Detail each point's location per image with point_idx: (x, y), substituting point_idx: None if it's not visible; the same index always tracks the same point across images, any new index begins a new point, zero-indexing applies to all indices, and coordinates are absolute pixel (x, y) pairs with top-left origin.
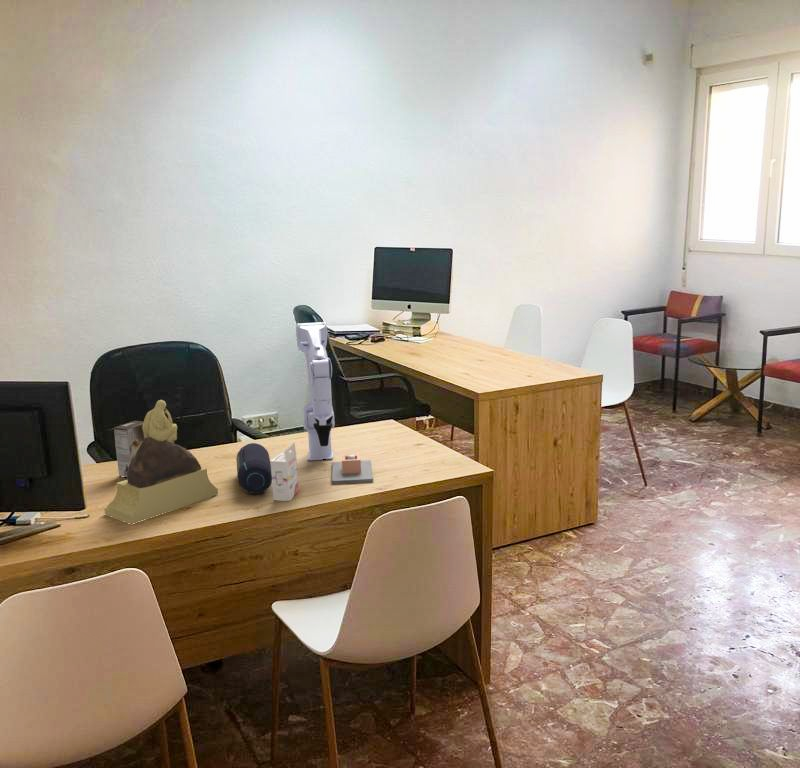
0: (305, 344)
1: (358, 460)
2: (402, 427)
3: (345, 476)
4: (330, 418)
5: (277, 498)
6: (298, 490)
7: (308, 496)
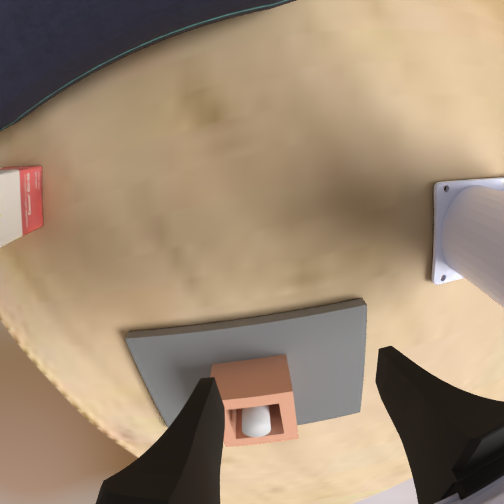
0: None
1: (224, 441)
2: None
3: (180, 375)
4: (423, 502)
5: None
6: (40, 226)
7: (18, 269)
